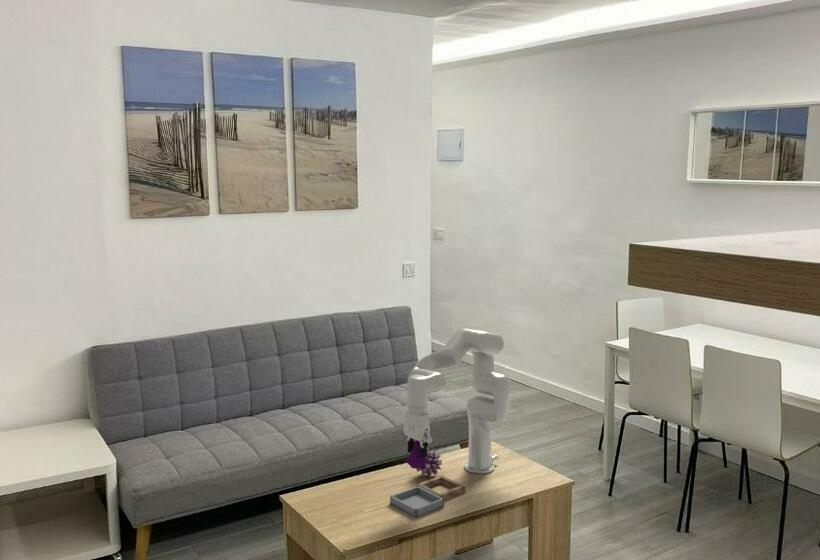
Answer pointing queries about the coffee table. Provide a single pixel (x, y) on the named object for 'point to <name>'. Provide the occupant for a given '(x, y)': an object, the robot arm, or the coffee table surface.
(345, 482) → the coffee table surface
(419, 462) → the perfume bottle
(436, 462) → the flower
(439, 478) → the square wooden frame
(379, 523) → the coffee table surface
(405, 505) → the tray
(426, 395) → the robot arm
